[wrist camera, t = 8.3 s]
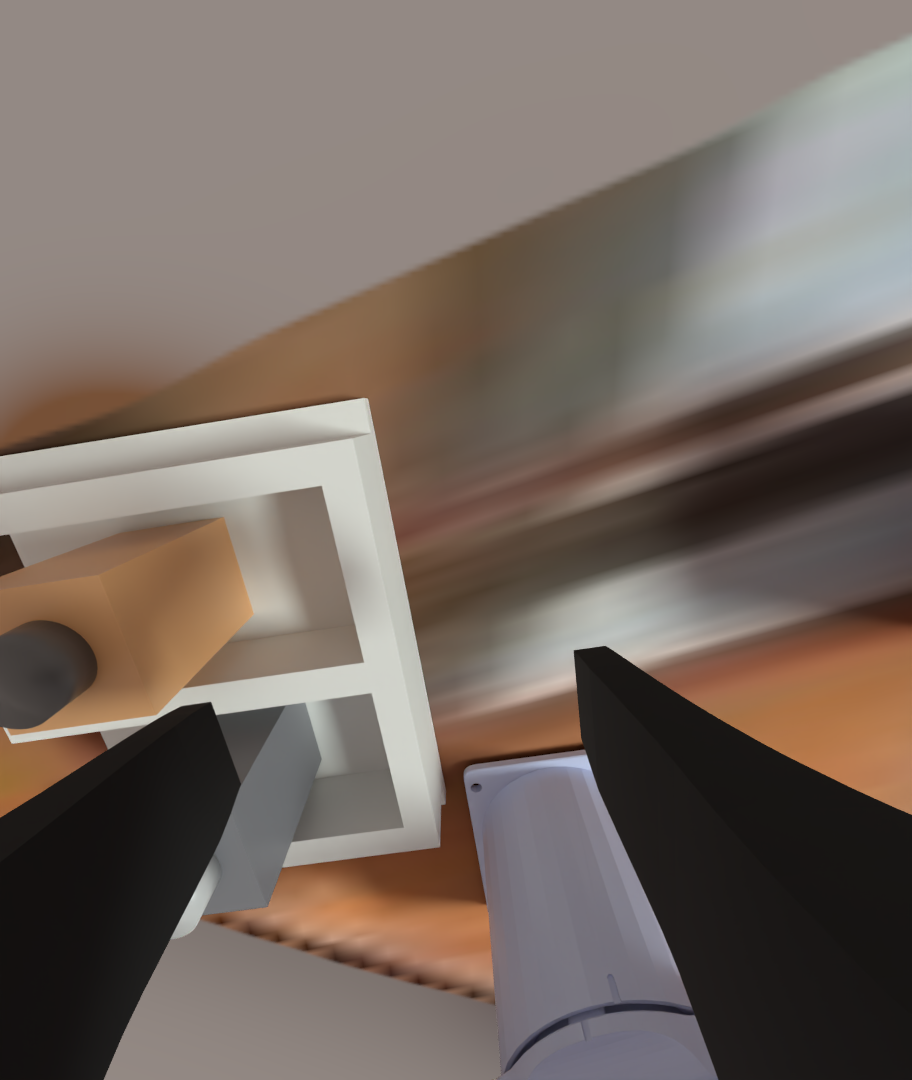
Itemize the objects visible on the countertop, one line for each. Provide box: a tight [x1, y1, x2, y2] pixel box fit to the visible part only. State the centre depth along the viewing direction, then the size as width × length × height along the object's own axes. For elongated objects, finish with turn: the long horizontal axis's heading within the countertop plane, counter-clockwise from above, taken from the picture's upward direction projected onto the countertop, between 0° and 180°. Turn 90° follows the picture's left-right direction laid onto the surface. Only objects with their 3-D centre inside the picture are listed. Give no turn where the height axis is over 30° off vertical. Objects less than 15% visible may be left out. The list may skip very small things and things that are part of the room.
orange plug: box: [0, 517, 254, 736], centre depth 13 cm, size 4×4×7 cm
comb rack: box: [0, 398, 446, 868], centre depth 17 cm, size 18×14×4 cm
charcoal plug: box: [170, 703, 322, 940], centre depth 15 cm, size 4×4×7 cm
